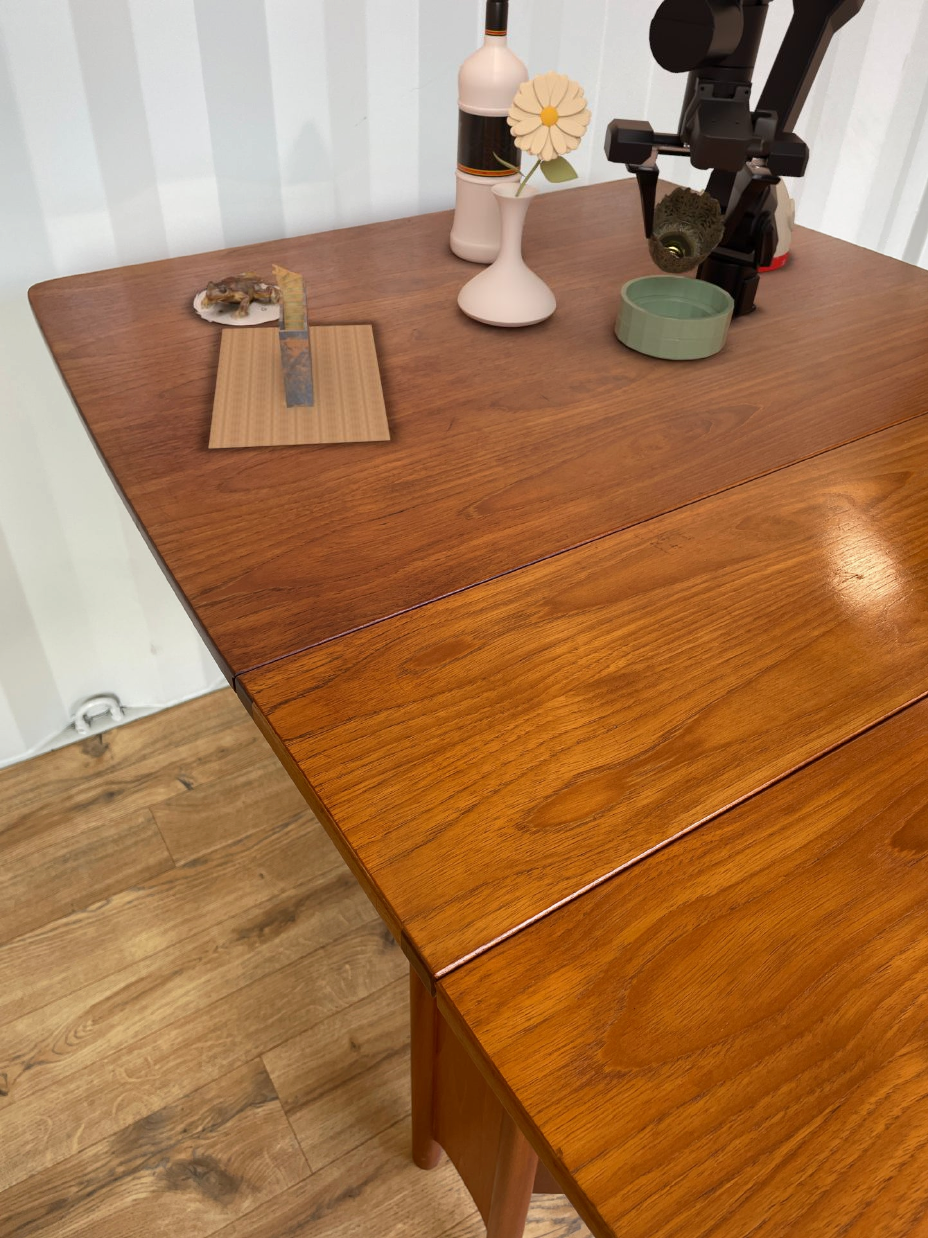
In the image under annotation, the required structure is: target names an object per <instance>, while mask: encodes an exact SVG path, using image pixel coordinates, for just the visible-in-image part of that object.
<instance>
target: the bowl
mask: <svg viewBox="0 0 928 1238" xmlns="http://www.w3.org/2000/svg"><path fill="white" fill-rule="evenodd" d="M617 305H618V306H617V313H616V318H615V325H614V330H613V331H614V334H615V335H616V337H617V339H618V340H619V341H620V342H622V343H623V344H624V345H625V346H627V347H628V348H631V349H632V350H634V351H637V352H639V353H640V354H644V355H646V356H650V357H653V358H658V359H662V360H671V361H687V360H688V361H689V360H698V359H703V358H708V357H711V356H713V355H715V354H717V353H719V352H720V351H721V350H722V349H723V347H725V345H726V341H727V337H728V333H729V329H730V326H731V321H732V320H731V317H732V313H733V309H734V300H733V298H732V297H731V296H730V294H729V293H728V292H726V291H725V290H723V289H721V288H720V287H718V286H716V285H713V284H711V283H708V282H706V281H703V280H698V279H695V278H694V277H691V276H685V275H683V276H682V275H677V274H651V275H646V276H638V277H636V278H633V279H630V280H628V281H627V282H626V283H624V284H623V285H621V289H620V292H619V298H618V304H617Z"/></svg>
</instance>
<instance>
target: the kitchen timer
mask: <svg viewBox="0 0 928 1238" xmlns="http://www.w3.org/2000/svg"><path fill="white" fill-rule="evenodd" d="M779 177H780V178H781V181H780V183H779V184H778V185H776V190H777V198H778V206H777V209H776V212H775V218H776V225H777V231H778V237H779V242H778V245H777V247H776V253H775V254H774V257H773V261H772V265H771V266H770V267H761V268H759V270H758V273H762V272H771V271H773V270H777V269H780V268H782V267H783V266H784V265H786V264H787V261H788V257H789V253H790V250H791V245H792V240H793V232H794V229H795V217H796V201H795V199H794V198H793V197H792V198H791V197H790V194H789V191H788V187H787V186H786V183H785V181H784V179H783V176H779ZM704 191H705V189H704V188H701V190H700V192H699V194H698V195H700V196H701V195H702V194H703V193H704Z"/></svg>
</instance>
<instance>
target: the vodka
mask: <svg viewBox="0 0 928 1238" xmlns="http://www.w3.org/2000/svg"><path fill="white" fill-rule="evenodd" d="M509 1H510V0H486V2H485V20H484V21H485V22H484V36H483V44H482V46H481V47H479V48H478V49H477V50H476V51H475V52H473V53H472V54H471V55H470V56H468V57H467V58H466V59H464V61H463V62H462V64H461V65H460V67H459V70H458V73H457V90H458V91H457V92H458V98H457V100H456V101H457V102H456V103H457V106H458V111H457V113H458V115H457V145H456V146H457V147H456V150H457V151H456V169H455V171H454V174H455V192H456V193H455V205H454V206H455V207H454V216H453V221H452V227H451V230H450V234H449V246H450V250H451V251H452V253H453V254H454V255H456V256H457V257H459V258H460V259H461V260H463V261H467V262H470V263H474V264H483V265H484V264H486V265H492V264H493V263H494V262H495V261H496V260H497V258H498V256H499V252H500V247H501V231H502V229H501V215H500V209H499V205H498V202H497V200H496V198H495V196H494V194H493V193H492V191H491V188H492V187H493V186H494V185H497V184H500V183H521V181H522V177H523V176H522V175H521V174H519V173H518V172H516V171H514V170H513V169H511V168H509V167H507V166H505V165H504V164H502V163H501V162H499V161H498V160H497V159H496V157H495V155H496V156H497V157H498V158H500V159H501V160H503V161H504V162H507V163H509V164H511V165H513V166H514V167H516V168H517V169H518V170H519V171H520V172H521V173H522V171H521V169H522V157H523V156H522V155H523V151H522V150H521V149H520V148H518V147H516V146H515V143H514V141H515V139H516V137H515V136H513V135H512V134H511V132H510V131H511V128H512V127H513V126H510V125H509V124H508V123H507V118H508V117H509V114H508V112H509V109H510V108H512V107H511V104H512V102H513V101H514V97H515V95H517V91H518V90H519V87H520V84H521V83H523V82H525V83H527V82H528V81H530V76H529V72H528V69H527V67H526V65H525V63H524V62H523V60H522V59H520V58H519V57H518V56H517V55H516V54H515V53H514V51H512V50H511V49H510V48H509V47H508V45H507V43H508V38H507V37H508V22H509V5H510V3H509ZM493 152H494V153H495V155H494V153H493Z"/></svg>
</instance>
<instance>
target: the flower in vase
mask: <svg viewBox="0 0 928 1238" xmlns="http://www.w3.org/2000/svg"><path fill="white" fill-rule="evenodd" d="M584 95H585V89H584V88H583V87H582V86H581V85H580V83H579V82H577V81H573V80H571V79H570V78H569V76H568V75H566V74H562V75H561V74H559V73H557V72H556V71H555V70H550V71H548V72H547V73H546V74H536V75H535V76H534V78H533V80H530V79H529V81H528V82H527V83H525V82H523V83H521V84H520V87H519V90H518V91H517V95H515V97H514V101H513V102H512V104H511V107H512V108H510V109H509V112H508V114H509V117H508V118H507V123H508V124H509V125H510V126H513V127H512V128H511V131H510V132H511V134H512V135H513V136H515V137H516V139H515V141H514V143H515V146H516V147H518V148H520V149H521V150H522V152H526V153H527V155H528V156H536V157H537V161H536V163H535V164H534V165H533V167H532V168H531V169H530V171H529V172H528V173H527V175H526V176H525V174H524V173H522V171H521V170H520V171H521V172H520V171H519V170H518V169H517V168H516V167H514V166H513V165H511V164H509V163H507V162H504V161H503V160H501V159H500V158H498V157H497V156H496V155H495V153H494V152H493V153H494V155H495V157H496V159H497V160H498V161H499V162H501V163H502V164H504V165H505V166H507V167H509V168H511V169H513V170H514V171H516V172H518V173H519V174H521V175H522V177H524V179H523V181H522V182H520V183H500V184H497V185H494V186H493V187H492V188H491V191H492V193H493V194H494V196H495V198H496V200H497V202H498V205H499V209H500V215H501V229H502V231H501V247H500V252H499V256H498V258H497V260H496V261H495V262H494V263H493V264H490V265H489V266H488V267H487V268H485V269H484V270H482V271H480V272H479V273H477V274H476V275H474V277H473V278H471V279H470V280H468V281H467V282H466V283H465V284H464V285H463V287H461V289H460V291H459V293H458V296H457V304H458V306H459V308H460V309H461V311H462V312H463V313H464V314H465V315H466V316H468V317H469V318H470V319H473V320H475V321H477V322H480V323H483V324H485V325H490V326H495V327H504V328H518V327H526V326H527V327H528V326H532V325H536V324H538V323H542V322H543V321H546V320H547V319H548V318H550V317H551V315H552V314H553V313H554V312H555V310H556V309H557V301H556V297H555V294H554V292H553V291H552V290H551V289H550V287H549V286H548V284H546V283H545V282H544V281H543V280H542V278H540V277H539V276H538V275H537V274H536V273H535V272H534V271H532V270H531V269H530V268H529V266H527V265H526V263H525V262H524V260H523V257H522V238H523V231H524V225H525V220H526V217H527V212H528V210H529V207H530V206H531V204H532V202H533V201H534V199H535V198H536V197H537V196H538V194H539V190H538V188H536V186H533V185H531V184H526V183H527V182H528V181H529V179H530V178H531V177H532V175H533V174H534V173H535V171H536V170H537V168H538V167H539V169H540V172H541V173H542V175H543V176H544V177H545V179H546V181H548V182H549V183H552V184H561V183H565V182H570V181H573V180H577V179H579V175H578V173H577V172H576V170H575V169H574V167H573V166H572V164H571V163H570V162H569V161H568V160H567V159H566V158H565V157H563V156H564V155H568V154H570V153H571V152H572V151H577V150H578V149H579V146H580V145H581V143H582V137H584V136H585V134H586V133H587V130H588V128H587V126H589V125H590V123H591V117H592V111H591V110H590V109H588V108H587V106H588V103H589V102H588V99H587V98H585V97H584Z"/></svg>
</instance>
